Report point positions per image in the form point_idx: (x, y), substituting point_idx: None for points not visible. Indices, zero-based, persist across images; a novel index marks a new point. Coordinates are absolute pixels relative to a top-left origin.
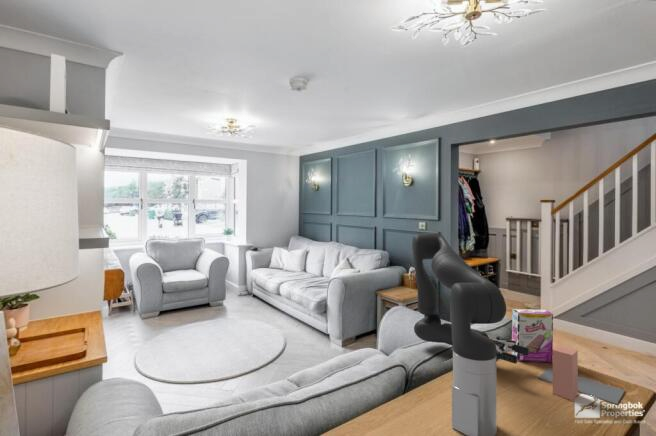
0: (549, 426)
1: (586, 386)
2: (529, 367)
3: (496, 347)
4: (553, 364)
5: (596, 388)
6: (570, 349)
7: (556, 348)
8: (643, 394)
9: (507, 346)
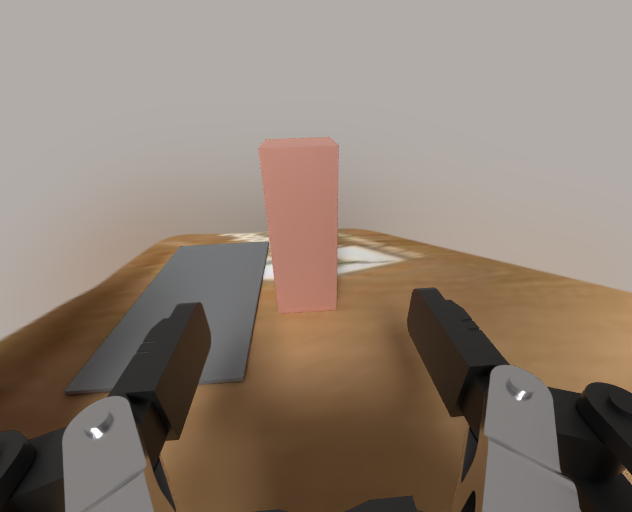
0: (503, 268)
1: (211, 279)
2: None
3: (533, 462)
4: (337, 210)
5: (209, 268)
6: (271, 141)
7: (305, 145)
8: (176, 237)
9: (166, 503)
